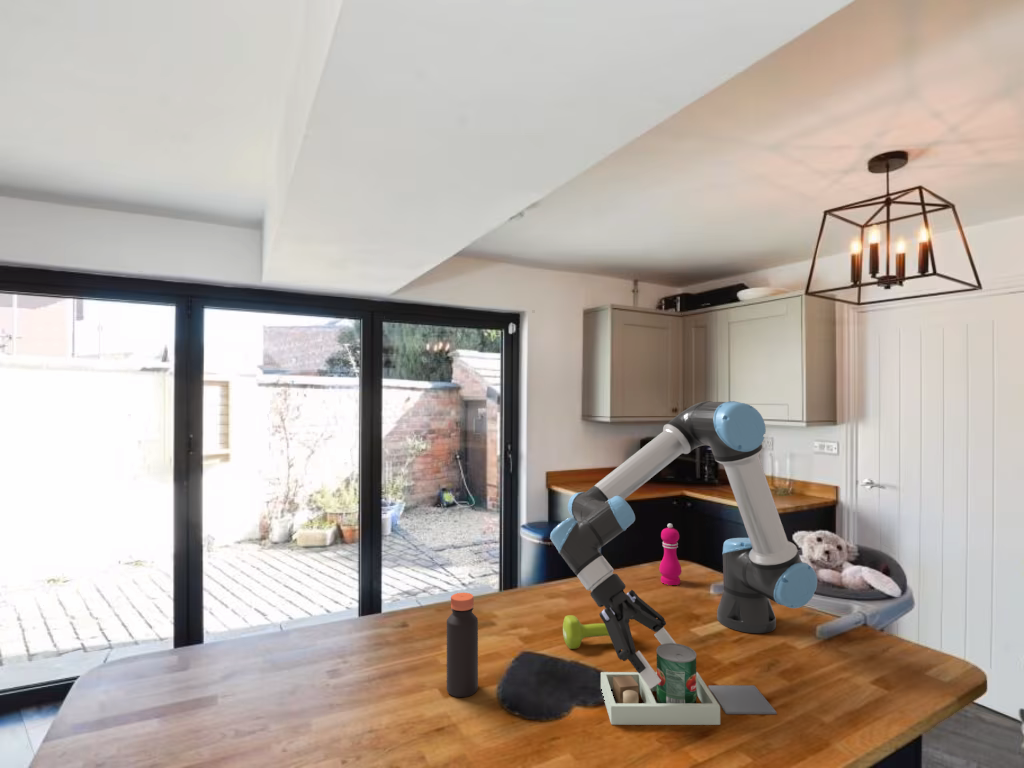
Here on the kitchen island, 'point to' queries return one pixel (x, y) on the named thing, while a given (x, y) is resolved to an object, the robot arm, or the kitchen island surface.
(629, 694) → the beech dowel
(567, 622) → the dumbbell
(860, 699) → the kitchen island surface
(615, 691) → the walnut block
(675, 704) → the caddy
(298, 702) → the kitchen island surface
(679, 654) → the canned tomato
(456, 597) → the bottle
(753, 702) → the slate coaster
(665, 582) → the pepper mill
